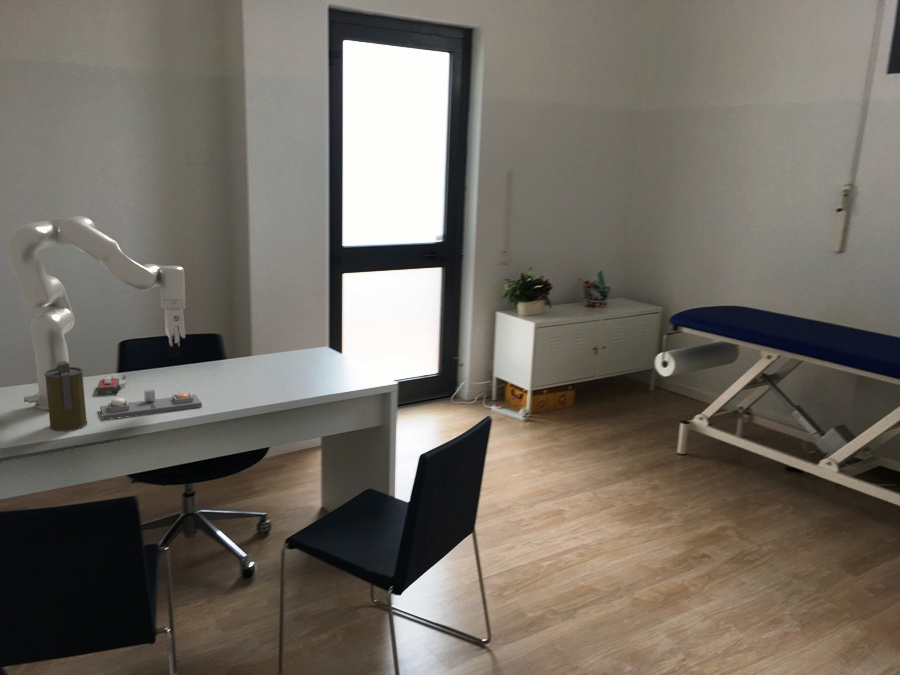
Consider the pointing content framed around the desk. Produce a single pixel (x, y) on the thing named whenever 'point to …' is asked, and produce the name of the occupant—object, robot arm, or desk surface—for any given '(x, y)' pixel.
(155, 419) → the desk surface
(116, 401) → the button left
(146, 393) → the lever
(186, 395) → the button right
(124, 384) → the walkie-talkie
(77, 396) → the canister
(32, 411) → the desk surface
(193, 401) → the panel
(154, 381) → the desk surface
